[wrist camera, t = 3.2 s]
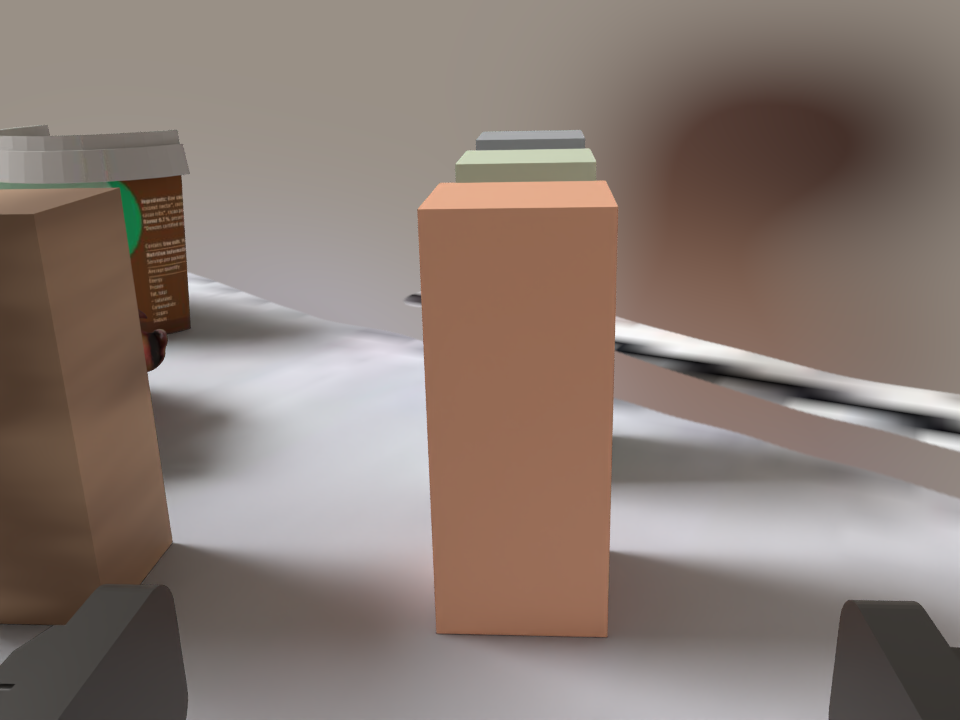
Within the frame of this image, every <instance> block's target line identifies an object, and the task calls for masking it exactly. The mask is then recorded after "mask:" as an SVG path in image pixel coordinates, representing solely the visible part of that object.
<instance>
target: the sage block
mask: <svg viewBox="0 0 960 720" xmlns="http://www.w3.org/2000/svg"><path fill="white" fill-rule="evenodd" d="M455 171H456V183H481V182H551V181H596V160H595V158H594V156H593V154H592V152H591V150H590V149H536V150H479V151H466V152H465V154H464V155H463V156H462V157H461V158H460V159H459V161H458V162H457V163H456V164H455Z"/></svg>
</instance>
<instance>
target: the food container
mask: <svg viewBox="0 0 960 720" xmlns="http://www.w3.org/2000/svg"><path fill="white" fill-rule="evenodd" d="M185 174H190V172H189V168H188V164H187V160H186V156H185V152H184V148H183V144H180V143H179V137H178V131H177V130H168V131H155V132H137V133H120V134H99V135H73V136H50V134H49V129H48V125H39V126H27V127H16V128H7V129H0V189H64V188H120V193H121V200H122V207H123V213H124V220H125V227H126V233H127V240H128V247H129V253H130V260H131V267H132V274H133V280H134V287H135V294H136V300H137V307H138V309H139V310H140V311H142V312H143V313H145V314H146V316H147V319H145V318H139V320H140V327H141V330H143V331H145V332H149V333H150V332H151V333H153V332H154V330H157V329H162V330H164V331H165V332H166V334H170V333H175V332H179V331H183V330H186V329H190V328H191V326H190V309H189V293H188V277H187V262H186V261H187V260H186V245H185V228H184V212H183V196H182V180H181V175H185Z"/></svg>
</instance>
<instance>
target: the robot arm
mask: <svg viewBox="0 0 960 720" xmlns="http://www.w3.org/2000/svg"><path fill="white" fill-rule="evenodd" d="M187 706H188V692H187V684H186V677H185V671H184V664H183V658H182V651H181V644H180V638H179V631H178V625H177V618H176V611H175V605H174V600H173V596H172V594H171V592H170V590H169V589H168V587H166V586H164V585H131V584H103V585H101V586H99V587H98V588H97V589H96V590H95V591H94V592H93V593H92V594H91V595H90V597H89V598H88V599H87V600H86V601H85V602H84V604H83V605H82V606H81V607H80V608H79V610H78V611H77V612H76V613H75V614H74V615H73V617H72V618H71V619H70V620H69V621H68V622H67V624H66V625H53V626H52V627H50V628H48V629H47V630H45V631H44V632H42V633H41V634H39V635H38V636H36V637H35V638H33V639H32V640H30V641H28V642H27V643H25V644H24V645H22V646H21V647H19V648H18V649H16V650H15V651H13V652H12V653H11V654H10V655H9V657H8V658H7V659H6V660H5V661H4V662H3V663H2V664H1V665H0V720H186V716H187ZM829 720H960V648H954V647H950V646H949V645H948V643H947V642H946V640H945V639H944V637H943V636H942V635H941V633H940V632H939V630H938V629H937V627H936V626H935V624H934V623H933V621H932V620H931V618H930V617H929V616H928V614H927V613H926V611H925V610H924V608H923V607H922V606H921V605H920V604H919V603H917V602H915V601H869V600H848V601H847V602H846V603H845V604H844V606H843V608H842V611H841V616H840V622H839V631H838V639H837V647H836V656H835V664H834V672H833V681H832V689H831V697H830V705H829Z"/></svg>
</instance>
